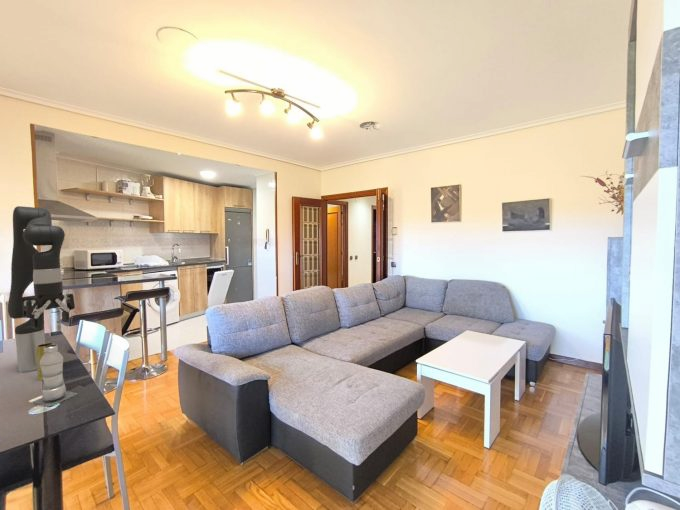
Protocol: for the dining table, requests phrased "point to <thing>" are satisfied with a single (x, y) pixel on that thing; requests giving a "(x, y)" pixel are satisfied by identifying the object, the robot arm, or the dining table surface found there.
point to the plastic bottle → (52, 374)
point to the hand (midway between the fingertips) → (51, 325)
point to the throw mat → (40, 401)
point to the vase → (39, 355)
